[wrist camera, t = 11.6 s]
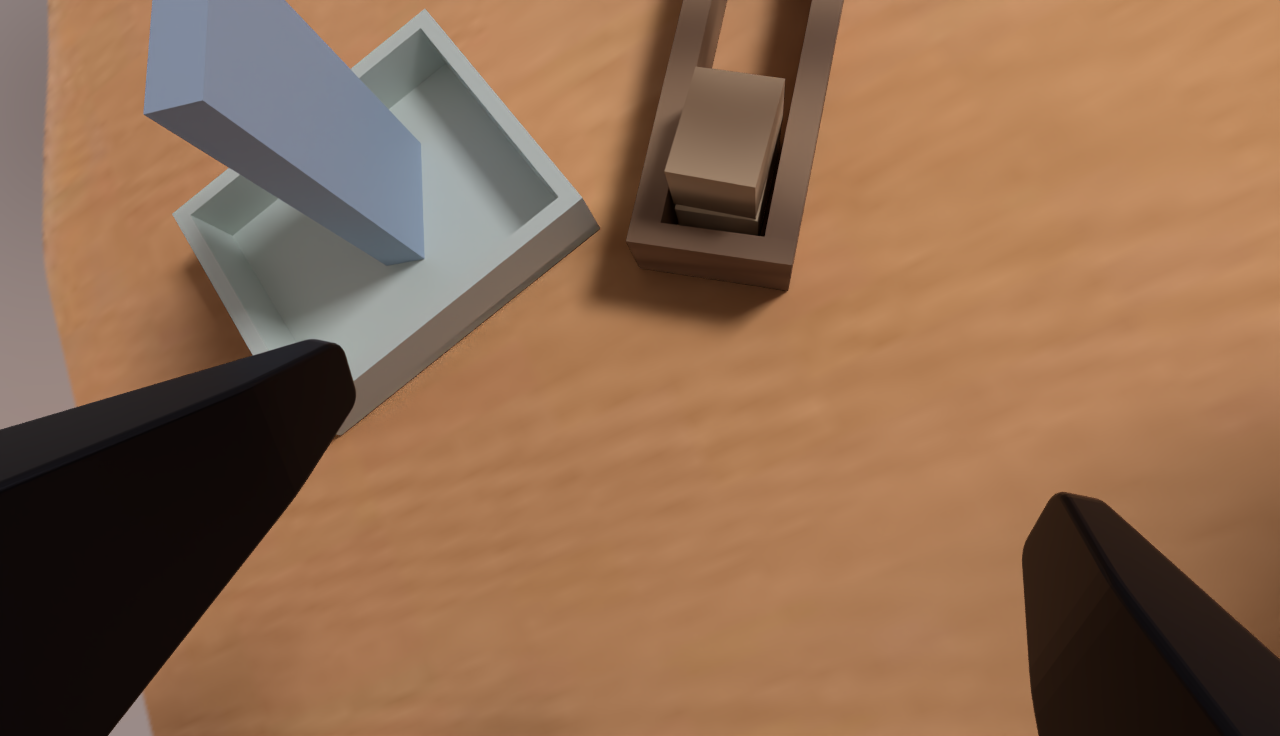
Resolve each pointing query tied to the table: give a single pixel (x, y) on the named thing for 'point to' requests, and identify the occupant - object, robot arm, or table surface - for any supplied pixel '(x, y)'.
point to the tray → (452, 216)
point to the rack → (774, 254)
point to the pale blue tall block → (287, 118)
